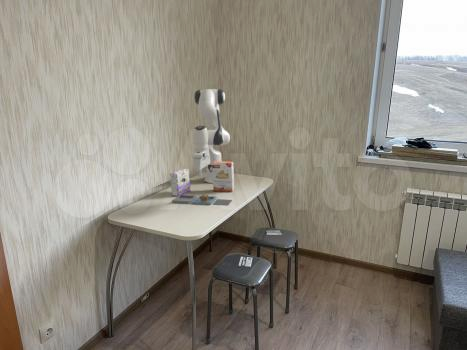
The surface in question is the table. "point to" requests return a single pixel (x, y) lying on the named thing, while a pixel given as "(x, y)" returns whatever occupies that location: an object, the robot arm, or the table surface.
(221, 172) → the cracker box
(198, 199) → the slate tray
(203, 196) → the letter cube
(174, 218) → the table surface
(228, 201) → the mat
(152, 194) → the table surface
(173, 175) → the candy box
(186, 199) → the charcoal tray
